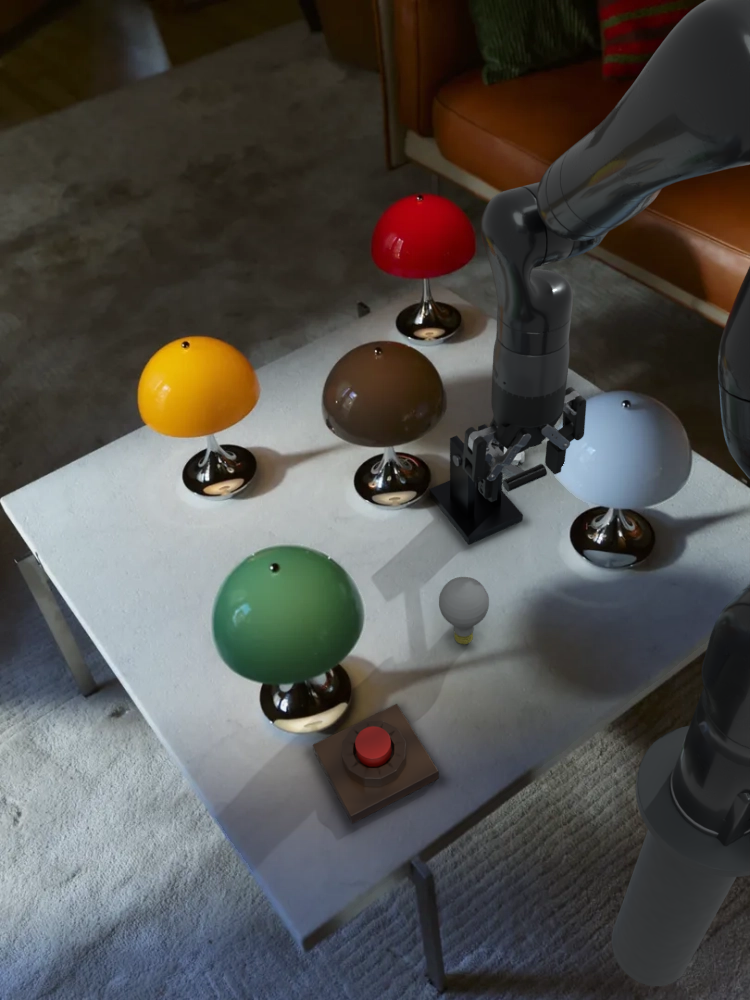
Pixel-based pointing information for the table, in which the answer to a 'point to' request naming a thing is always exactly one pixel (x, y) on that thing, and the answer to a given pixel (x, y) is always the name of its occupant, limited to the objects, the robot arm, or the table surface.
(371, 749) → the button
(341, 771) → the button block
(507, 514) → the bracket
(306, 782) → the table surface
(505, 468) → the lever
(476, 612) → the light bulb
